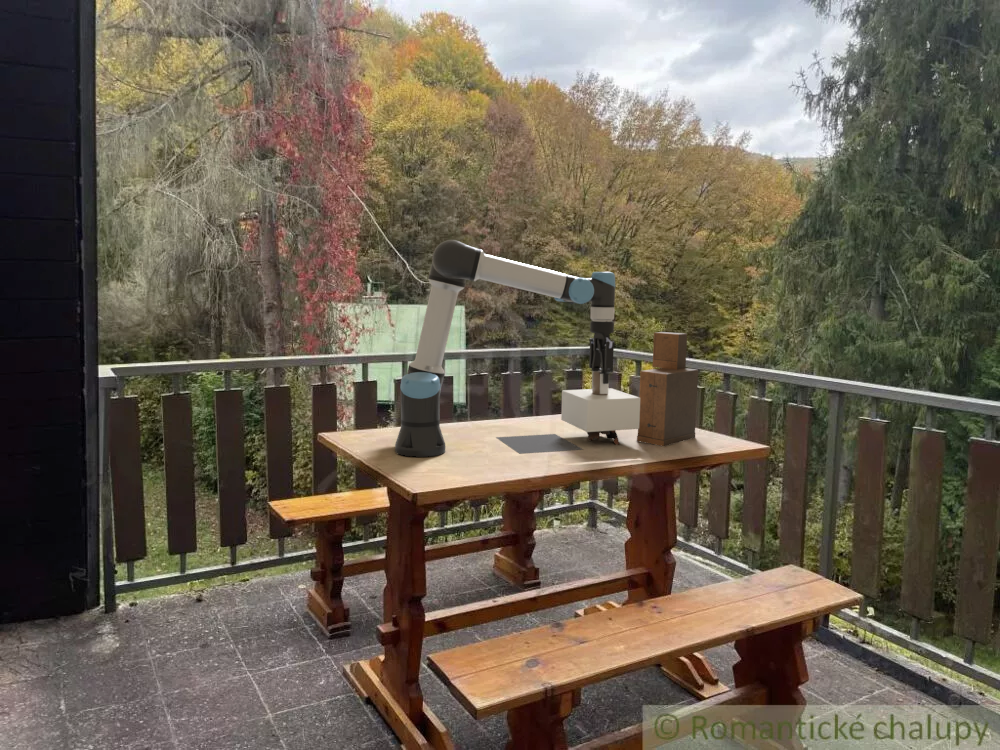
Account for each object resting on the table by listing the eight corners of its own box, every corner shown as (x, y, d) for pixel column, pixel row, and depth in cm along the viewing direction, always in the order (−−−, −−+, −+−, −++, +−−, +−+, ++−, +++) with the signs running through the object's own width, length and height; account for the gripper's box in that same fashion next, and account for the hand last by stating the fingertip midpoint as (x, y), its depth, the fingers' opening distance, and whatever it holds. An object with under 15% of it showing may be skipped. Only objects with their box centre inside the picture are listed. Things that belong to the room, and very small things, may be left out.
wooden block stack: (659, 431, 257) (663, 331, 253) (695, 438, 247) (700, 334, 243) (627, 439, 244) (631, 334, 239) (663, 446, 234) (668, 337, 229)
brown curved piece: (616, 450, 230) (603, 427, 230) (591, 459, 236) (579, 437, 235) (628, 433, 240) (615, 412, 239) (604, 442, 246) (592, 421, 245)
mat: (519, 455, 219) (519, 453, 219) (495, 439, 241) (495, 437, 241) (583, 451, 226) (583, 449, 226) (554, 435, 247) (555, 433, 247)
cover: (586, 432, 227) (588, 377, 224) (561, 419, 246) (562, 369, 243) (639, 428, 232) (641, 375, 230) (610, 417, 251) (611, 367, 249)
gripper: (626, 322, 227) (623, 396, 230) (600, 318, 244) (598, 387, 247) (604, 322, 225) (601, 397, 228) (579, 318, 242) (578, 388, 245)
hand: (600, 392), depth 238 cm, fingers closed on cover, 5 cm apart
